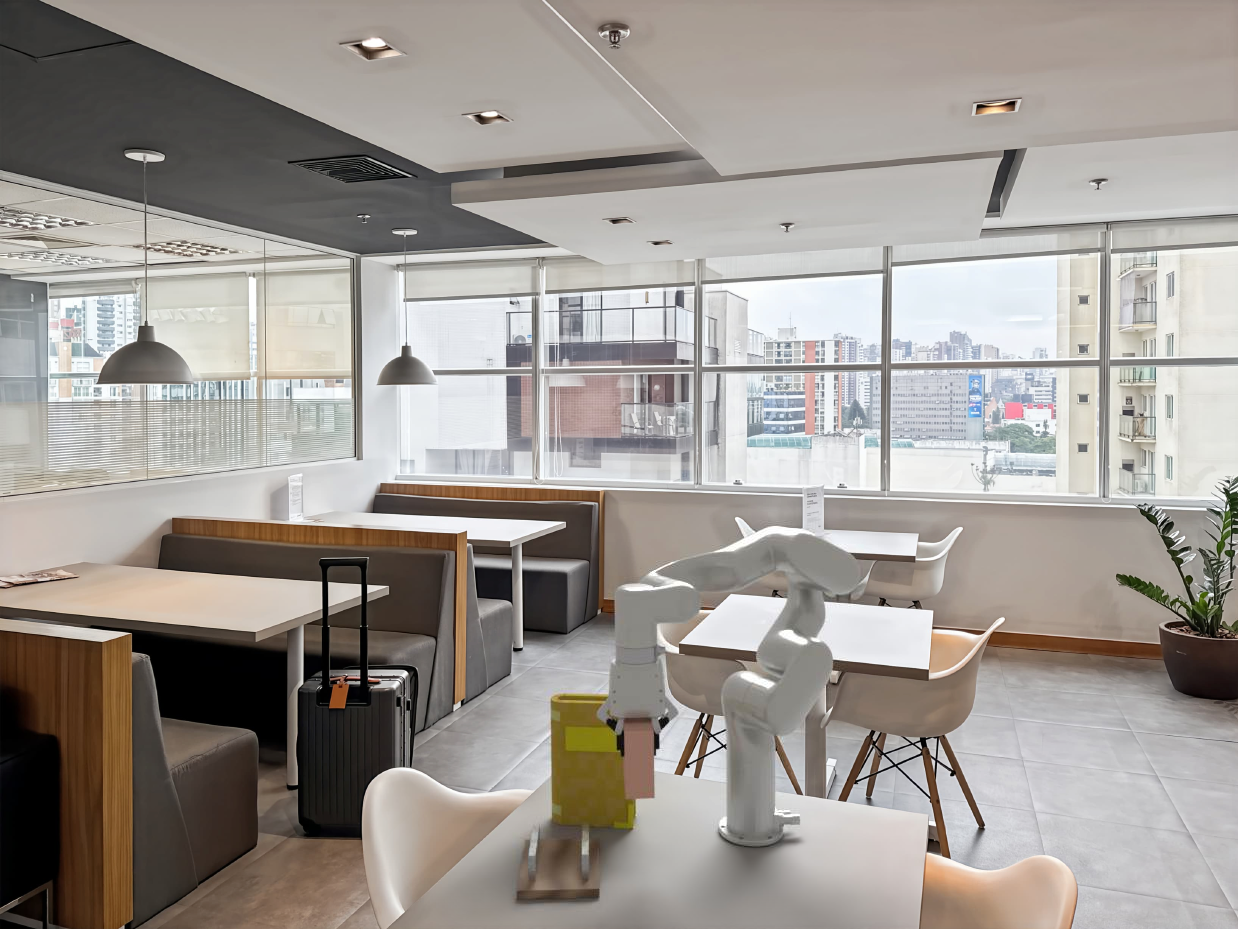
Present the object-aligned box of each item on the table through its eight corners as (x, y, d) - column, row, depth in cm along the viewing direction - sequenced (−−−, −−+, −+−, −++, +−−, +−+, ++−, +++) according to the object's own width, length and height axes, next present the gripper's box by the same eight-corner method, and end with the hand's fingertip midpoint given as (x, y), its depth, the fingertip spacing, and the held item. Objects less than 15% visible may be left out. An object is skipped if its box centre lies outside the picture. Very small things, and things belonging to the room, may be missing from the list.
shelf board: (598, 845, 164) (598, 837, 164) (599, 897, 146) (599, 888, 146) (525, 847, 164) (525, 839, 163) (516, 899, 146) (516, 890, 145)
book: (636, 813, 177) (635, 694, 176) (633, 828, 171) (632, 704, 170) (555, 810, 179) (553, 692, 178) (549, 825, 172) (548, 702, 171)
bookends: (589, 845, 161) (588, 822, 161) (588, 879, 149) (588, 854, 149) (533, 846, 161) (533, 823, 160) (528, 881, 149) (528, 855, 148)
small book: (650, 772, 160) (649, 709, 160) (654, 798, 149) (653, 730, 149) (623, 773, 160) (622, 709, 159) (625, 799, 149) (624, 731, 148)
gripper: (681, 647, 157) (683, 744, 158) (588, 649, 157) (590, 746, 158) (686, 658, 150) (687, 760, 151) (588, 660, 149) (590, 763, 150)
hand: (638, 752), depth 154 cm, fingers closed on small book, 5 cm apart
